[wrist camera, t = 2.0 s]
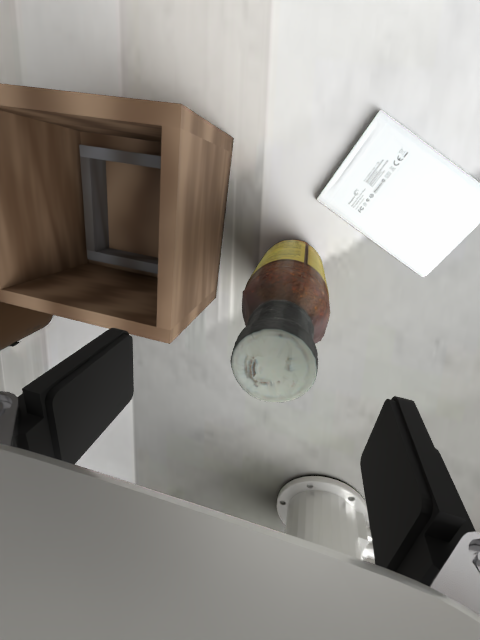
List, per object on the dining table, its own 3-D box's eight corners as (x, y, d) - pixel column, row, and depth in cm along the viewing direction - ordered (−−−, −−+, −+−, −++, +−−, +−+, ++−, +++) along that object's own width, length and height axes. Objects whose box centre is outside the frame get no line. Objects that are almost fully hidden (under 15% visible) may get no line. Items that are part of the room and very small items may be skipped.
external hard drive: (418, 274, 30) (316, 199, 29) (494, 199, 26) (378, 112, 26) (424, 278, 28) (315, 199, 28) (504, 199, 25) (381, 107, 24)
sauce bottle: (252, 277, 33) (175, 376, 15) (281, 225, 30) (229, 270, 12) (304, 308, 33) (288, 443, 15) (338, 258, 30) (367, 351, 12)
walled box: (233, 138, 28) (181, 104, 18) (215, 297, 35) (169, 343, 24) (74, 117, 31) (-56, 77, 20) (85, 269, 38) (-8, 299, 27)
